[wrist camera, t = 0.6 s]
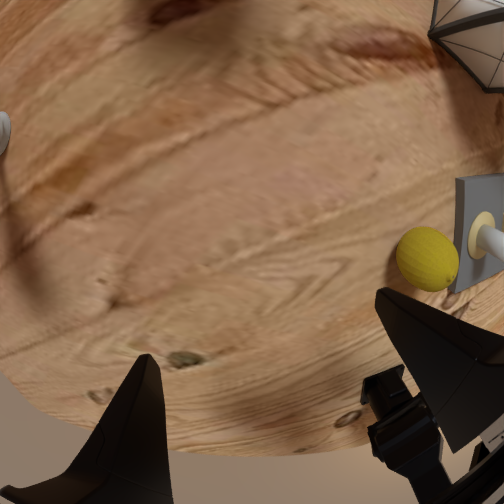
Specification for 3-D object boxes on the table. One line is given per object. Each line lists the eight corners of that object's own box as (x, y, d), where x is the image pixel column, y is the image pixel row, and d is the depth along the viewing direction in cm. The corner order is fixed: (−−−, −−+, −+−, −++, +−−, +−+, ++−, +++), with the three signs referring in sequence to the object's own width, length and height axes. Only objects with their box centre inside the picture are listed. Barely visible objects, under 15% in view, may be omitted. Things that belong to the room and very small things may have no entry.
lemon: (428, 248, 25) (476, 280, 18) (392, 277, 26) (434, 318, 19) (414, 206, 23) (469, 231, 16) (374, 237, 24) (423, 273, 17)
